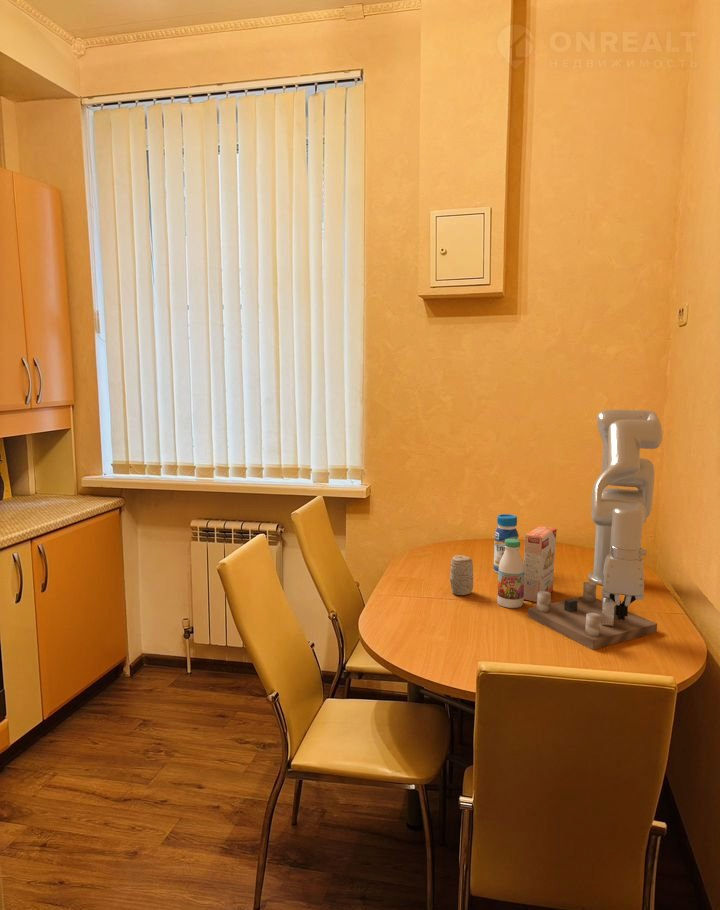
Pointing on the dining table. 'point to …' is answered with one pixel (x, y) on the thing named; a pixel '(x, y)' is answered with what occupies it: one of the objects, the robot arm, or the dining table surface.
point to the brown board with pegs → (588, 620)
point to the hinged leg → (607, 611)
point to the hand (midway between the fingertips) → (620, 617)
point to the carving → (461, 575)
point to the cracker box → (539, 561)
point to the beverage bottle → (503, 536)
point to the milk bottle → (511, 576)
